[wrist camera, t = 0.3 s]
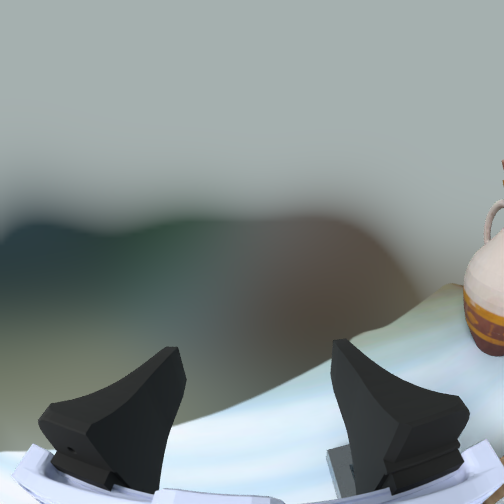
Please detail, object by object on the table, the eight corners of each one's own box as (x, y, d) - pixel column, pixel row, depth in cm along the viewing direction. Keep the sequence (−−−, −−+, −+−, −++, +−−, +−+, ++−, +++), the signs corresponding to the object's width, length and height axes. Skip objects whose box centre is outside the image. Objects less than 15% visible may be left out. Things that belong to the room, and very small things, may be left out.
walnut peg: (499, 498, 8) (535, 466, 6) (473, 518, 8) (509, 491, 6) (487, 476, 12) (518, 442, 10) (461, 494, 12) (492, 464, 10)
